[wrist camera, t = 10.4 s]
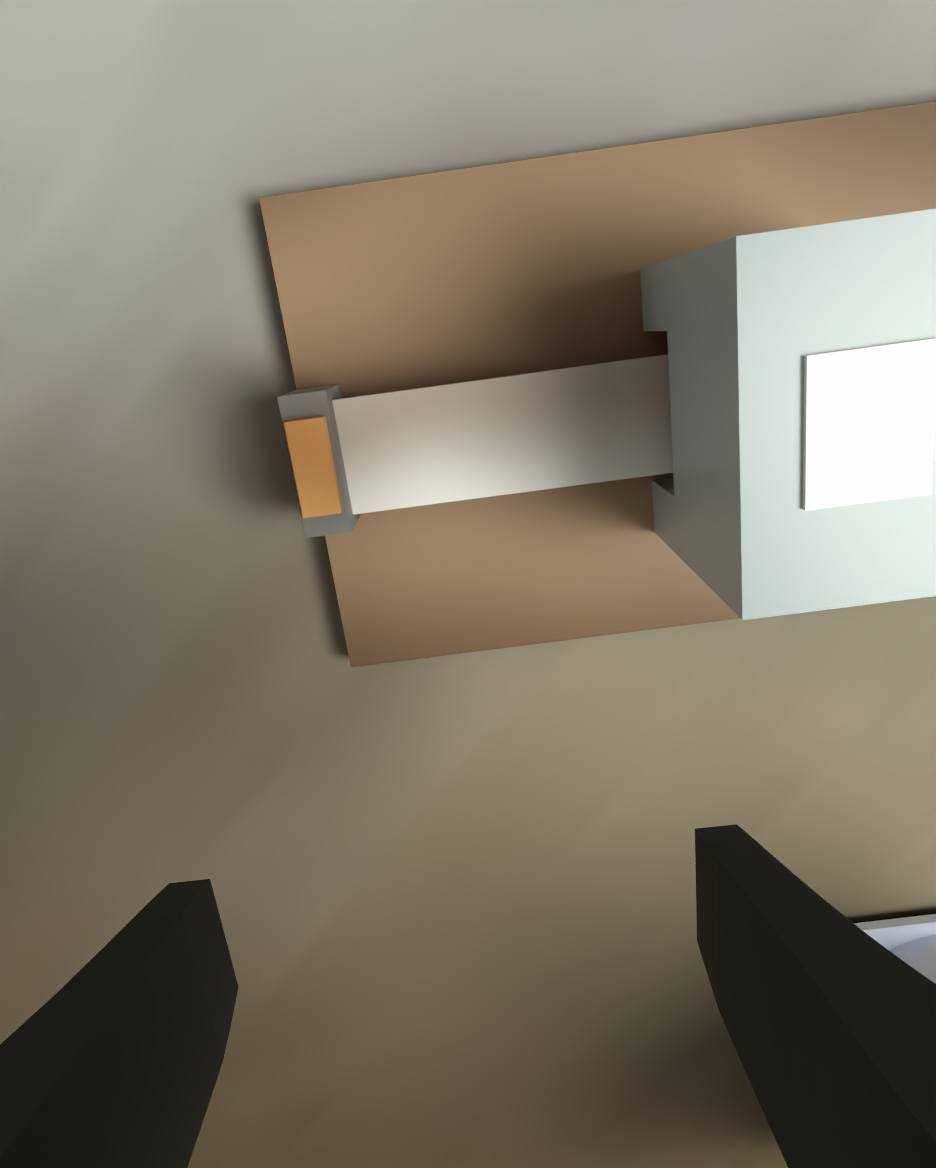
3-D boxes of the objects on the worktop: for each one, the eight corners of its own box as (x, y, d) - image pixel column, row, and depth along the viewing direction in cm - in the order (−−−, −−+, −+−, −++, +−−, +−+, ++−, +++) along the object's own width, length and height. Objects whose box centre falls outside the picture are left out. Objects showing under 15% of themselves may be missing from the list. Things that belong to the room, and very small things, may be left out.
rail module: (818, 511, 18) (984, 591, 13) (654, 532, 19) (744, 622, 13) (822, 244, 17) (1020, 196, 11) (639, 269, 17) (738, 235, 11)
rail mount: (1039, 571, 20) (1134, 610, 17) (353, 657, 20) (337, 709, 17) (1094, 84, 16) (1224, 33, 13) (265, 202, 17) (227, 176, 14)
